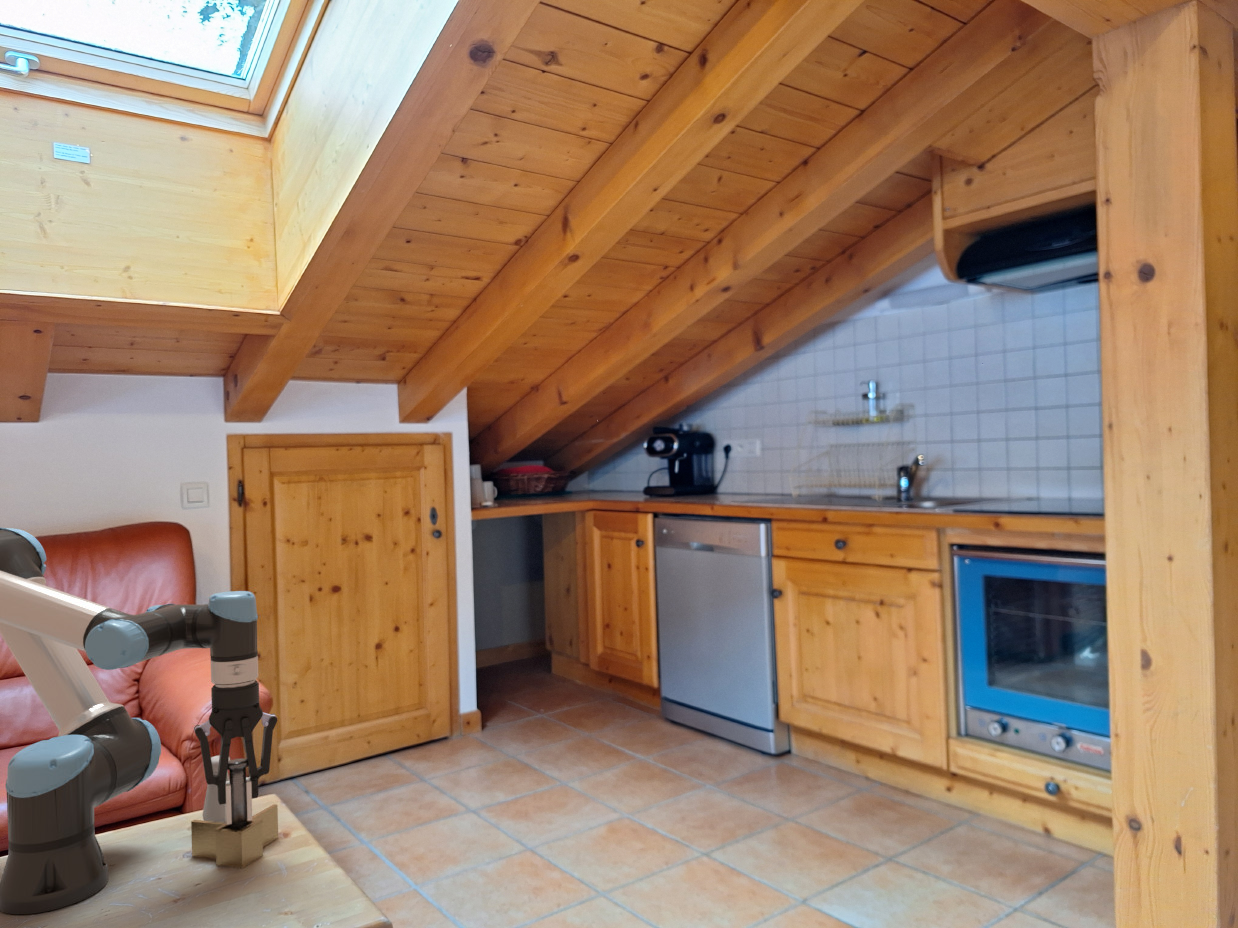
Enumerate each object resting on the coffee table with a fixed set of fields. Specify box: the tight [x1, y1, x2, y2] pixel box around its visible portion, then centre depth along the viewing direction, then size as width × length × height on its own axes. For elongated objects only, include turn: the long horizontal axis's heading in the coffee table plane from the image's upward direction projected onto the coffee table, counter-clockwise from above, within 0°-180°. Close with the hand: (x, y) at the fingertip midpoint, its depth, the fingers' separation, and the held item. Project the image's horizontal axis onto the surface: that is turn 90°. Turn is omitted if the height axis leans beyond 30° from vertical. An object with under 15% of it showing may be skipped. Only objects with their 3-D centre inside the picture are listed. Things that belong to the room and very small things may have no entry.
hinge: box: [190, 803, 279, 869], centre depth 156 cm, size 12×12×6 cm
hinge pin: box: [227, 758, 249, 830], centre depth 151 cm, size 4×4×13 cm
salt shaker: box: [202, 754, 231, 823], centre depth 167 cm, size 6×6×13 cm
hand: (238, 819), depth 152 cm, fingers closed on hinge pin, 2 cm apart
